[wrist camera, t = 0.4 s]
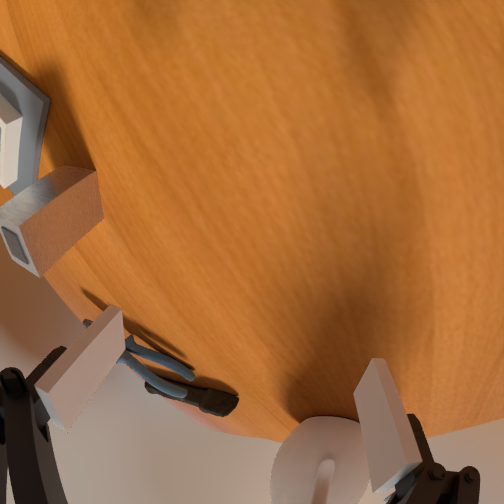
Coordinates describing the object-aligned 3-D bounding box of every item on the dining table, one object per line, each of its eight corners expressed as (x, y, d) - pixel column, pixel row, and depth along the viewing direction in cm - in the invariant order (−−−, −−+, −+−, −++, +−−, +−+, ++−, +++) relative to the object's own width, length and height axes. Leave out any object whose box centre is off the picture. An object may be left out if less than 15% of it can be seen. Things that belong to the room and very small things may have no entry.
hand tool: (159, 380, 52) (149, 398, 49) (150, 370, 50) (139, 388, 46) (243, 401, 45) (235, 424, 42) (238, 392, 43) (229, 415, 40)
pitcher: (364, 441, 45) (334, 558, 24) (285, 431, 50) (245, 545, 29) (406, 396, 31) (371, 582, 10) (289, 383, 36) (224, 566, 15)
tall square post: (63, 164, 24) (-9, 213, 17) (96, 170, 24) (17, 227, 16) (72, 207, 28) (11, 260, 20) (104, 218, 27) (39, 279, 20)
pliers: (95, 310, 42) (75, 335, 37) (94, 304, 40) (74, 330, 36) (195, 374, 43) (181, 404, 39) (199, 371, 42) (184, 401, 37)
